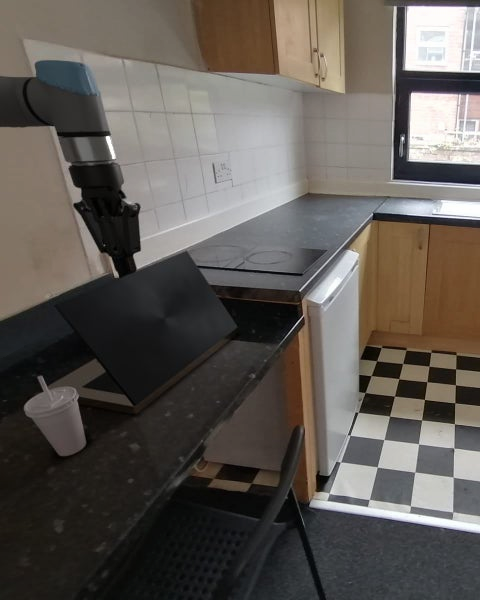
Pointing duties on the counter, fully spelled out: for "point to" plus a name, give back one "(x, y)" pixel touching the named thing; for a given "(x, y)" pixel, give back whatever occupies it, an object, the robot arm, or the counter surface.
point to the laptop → (106, 394)
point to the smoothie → (58, 418)
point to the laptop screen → (149, 323)
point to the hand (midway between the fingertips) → (131, 286)
